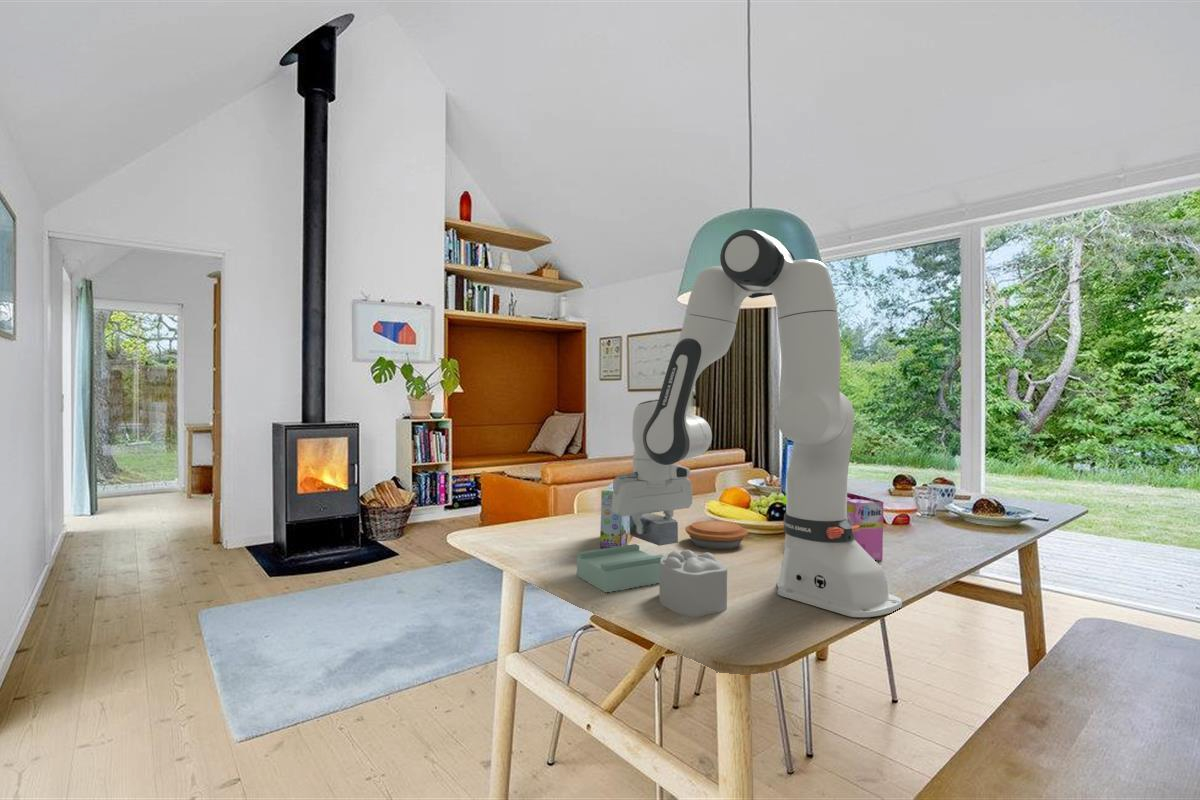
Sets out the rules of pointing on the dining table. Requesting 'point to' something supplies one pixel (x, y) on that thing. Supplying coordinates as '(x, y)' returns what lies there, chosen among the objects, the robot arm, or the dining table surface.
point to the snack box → (612, 523)
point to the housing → (656, 529)
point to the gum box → (867, 523)
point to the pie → (716, 534)
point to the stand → (618, 567)
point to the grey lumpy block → (693, 583)
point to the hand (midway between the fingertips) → (653, 531)
